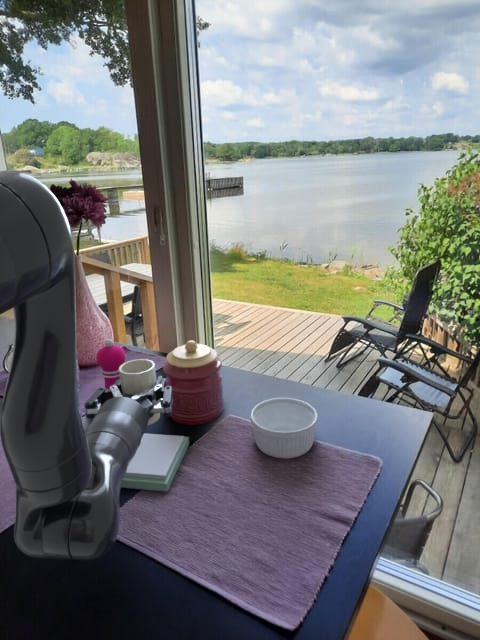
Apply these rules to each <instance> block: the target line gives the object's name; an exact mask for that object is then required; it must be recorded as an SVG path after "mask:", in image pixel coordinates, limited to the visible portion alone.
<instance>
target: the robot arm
mask: <svg viewBox="0 0 480 640" xmlns="http://www.w3.org/2000/svg"><path fill="white" fill-rule="evenodd" d="M76 278H77V277H76V255H75V245H74V238H73V234H72V228H71V226H70V223H69V220H68V217H67V214H66V212H65V210H64V208H63V206H62V205H61V203H60V201H59V199H58V198H57V197H56V195H55V194H54V193H53V192H52V191H51V190H50V189H49V187H47V185H45V184H44V183H43V182H41V181H40V180H39V179H37V178H36V177H34V176H33V175H30V174H28V173H25V172H22V171H18V170H7V169H6V170H0V315H2V314H4V313H6V312H8V311H10V310H12V316H13V346H12V353H11V360H10V363H9V364H10V365H9V370H8V374H7V378H6V382H5V387H4V392H3V397H2V401H1V407H0V442H1V446H2V450H3V453H4V456H5V459H6V462H7V464H8V467H9V470H10V474H11V476H12V478H13V482H14V484H15V517H14V525H13V526H14V527H13V538H14V542H15V543H14V544H16V546H17V548H18V549H19V550H20V551H21V552H22V553H23V554H24V555H26V556H28V557H31V558H34V559H43V560H44V559H46V560H49V559H50V560H74V561H92V560H97V559H99V558H101V557H103V556H104V555H106V554H107V553H108V552H109V551H110V550H111V548H113V546H114V544H115V543H116V541H117V538H118V535H119V531H120V524H121V523H120V522H121V521H120V519H121V518H120V517H121V516H120V515H121V510H120V508H121V507H120V506H121V505H120V498H121V491H122V490H121V489H122V487H121V484H122V481H123V478H124V476H125V473H126V471H127V468H128V466H129V464H130V462H131V460H132V459H133V457H134V456H135V454H136V451H137V449H138V447H139V445H140V443H141V439H142V437H143V434H144V433H145V432H146V430H147V427H148V425H147V424H148V421H149V419H150V418H151V417H153V415H154V414H155V413H160V414H163V417H164V418H171V417H170V416H171V415H172V405H173V395H172V387H171V386H166V377H165V378H164V376H163V375H158V376H157V377H156V380H157V381H156V383H155V386H154V387H152V388H151V389H149V388H146V389H145V390H143V391H142V392H140V393H139V394H133V395H131V394H123V395H122V390H121V382H120V379H118V380H116V382H115V383H114V385H113V386H110V389H105V386H101V387H98V388H97V389H96V390H95V391H94V392H93V394H92V395H90V397H89V398H88V399H87V400H86V401H85V402H84V403H83V404H84V411H85V416H86V419H92V421H90V424H89V425H88V427H87V429H85V424H84V420H83V416H82V410H81V409H82V408H81V403H80V397H79V386H78V367H77V365H78V364H77V362H78V359H77V358H78V357H77V356H78V355H77V354H78V353H77V306H76V305H77V303H76V302H77V301H76V300H77V298H76V295H77V294H76V292H77V291H76V289H77V287H76V286H77V285H76V281H77V280H76ZM155 394H156V396H155ZM158 402H159V403H158ZM157 403H158V404H157ZM156 404H157V405H156Z"/></svg>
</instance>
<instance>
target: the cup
mask: <svg viewBox="0 0 480 640" xmlns="http://www.w3.org/2000/svg"><path fill="white" fill-rule="evenodd" d="M119 375H120V382H121V390H122V395H123V394H131V395H133V394H139V393H140V392H142V391H143V390H145V389H146V388H149V389H151V388H152V387H154V386H155V383H156V381H157V371H156V363H155V361H153V360H151V359H146V358H138V359H131V360H128V361H125V362H124V364H122V365H121V366H120V367H119ZM155 396H156V394H155ZM158 403H159V402H158ZM158 403H157V404H158ZM157 404H156V405H157ZM160 417H161V413H155V414H154V415H153V417H151V418H150V419H149V421H148V424H147V426H150V425H152V424H154V423H156V422H157V421H159V419H160Z"/></svg>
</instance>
